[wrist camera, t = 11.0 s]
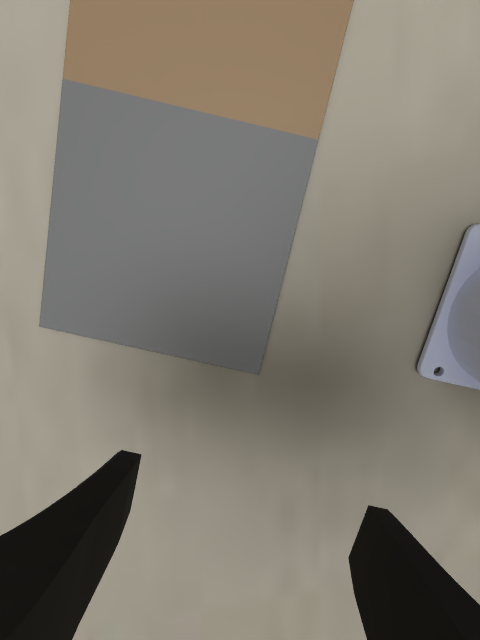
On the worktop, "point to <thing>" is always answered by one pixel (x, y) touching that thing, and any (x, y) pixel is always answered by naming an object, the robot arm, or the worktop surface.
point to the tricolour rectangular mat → (184, 169)
